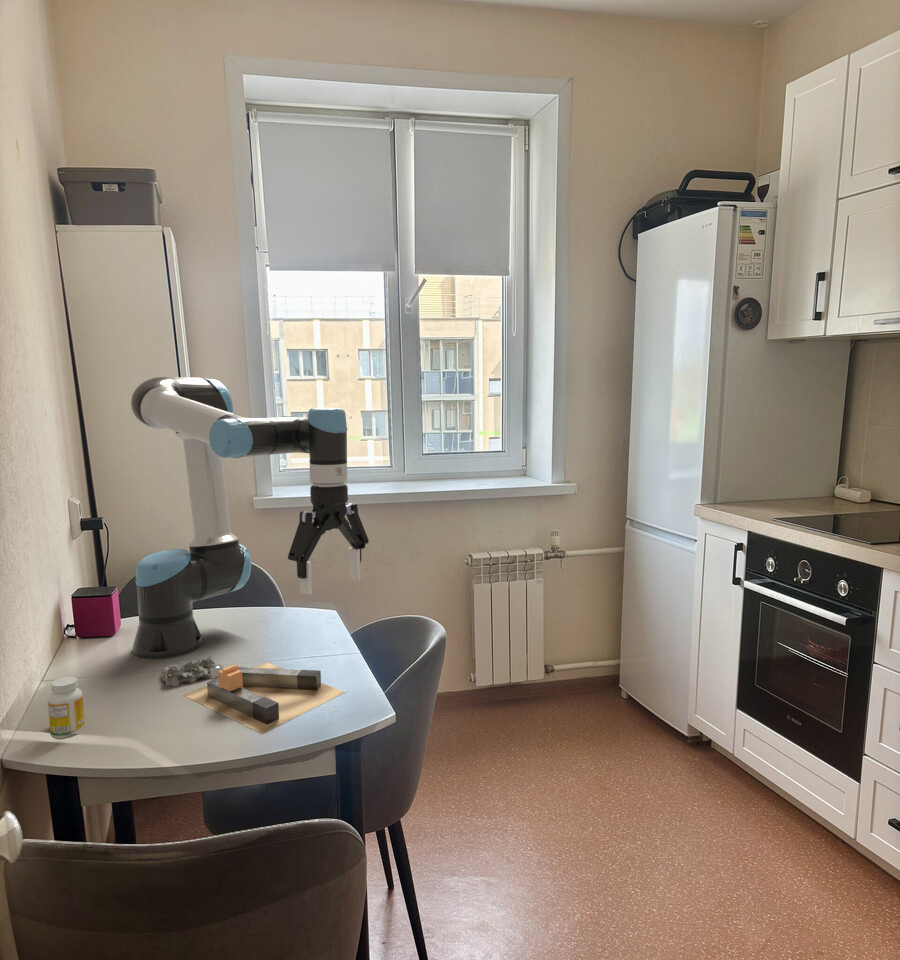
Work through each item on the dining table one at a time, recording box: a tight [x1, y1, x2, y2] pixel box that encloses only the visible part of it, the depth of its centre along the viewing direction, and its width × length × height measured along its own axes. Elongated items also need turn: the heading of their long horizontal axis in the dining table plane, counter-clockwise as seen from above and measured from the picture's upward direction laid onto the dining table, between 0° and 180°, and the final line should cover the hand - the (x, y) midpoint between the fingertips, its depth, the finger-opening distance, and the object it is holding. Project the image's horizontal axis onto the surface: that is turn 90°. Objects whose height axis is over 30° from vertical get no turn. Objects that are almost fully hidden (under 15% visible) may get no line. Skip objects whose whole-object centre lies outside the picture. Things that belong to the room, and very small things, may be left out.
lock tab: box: [218, 664, 243, 691], centre depth 123 cm, size 4×3×4 cm
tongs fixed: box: [206, 663, 279, 725], centre depth 123 cm, size 22×5×4 cm, turn 53°
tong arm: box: [238, 666, 322, 690], centre depth 131 cm, size 18×3×3 cm, turn 83°
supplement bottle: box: [47, 676, 85, 740], centre depth 115 cm, size 5×5×10 cm
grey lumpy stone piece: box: [161, 655, 217, 687], centre depth 136 cm, size 11×8×4 cm
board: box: [182, 661, 346, 735], centre depth 128 cm, size 25×20×1 cm
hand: (331, 585), depth 134 cm, fingers open, 13 cm apart
